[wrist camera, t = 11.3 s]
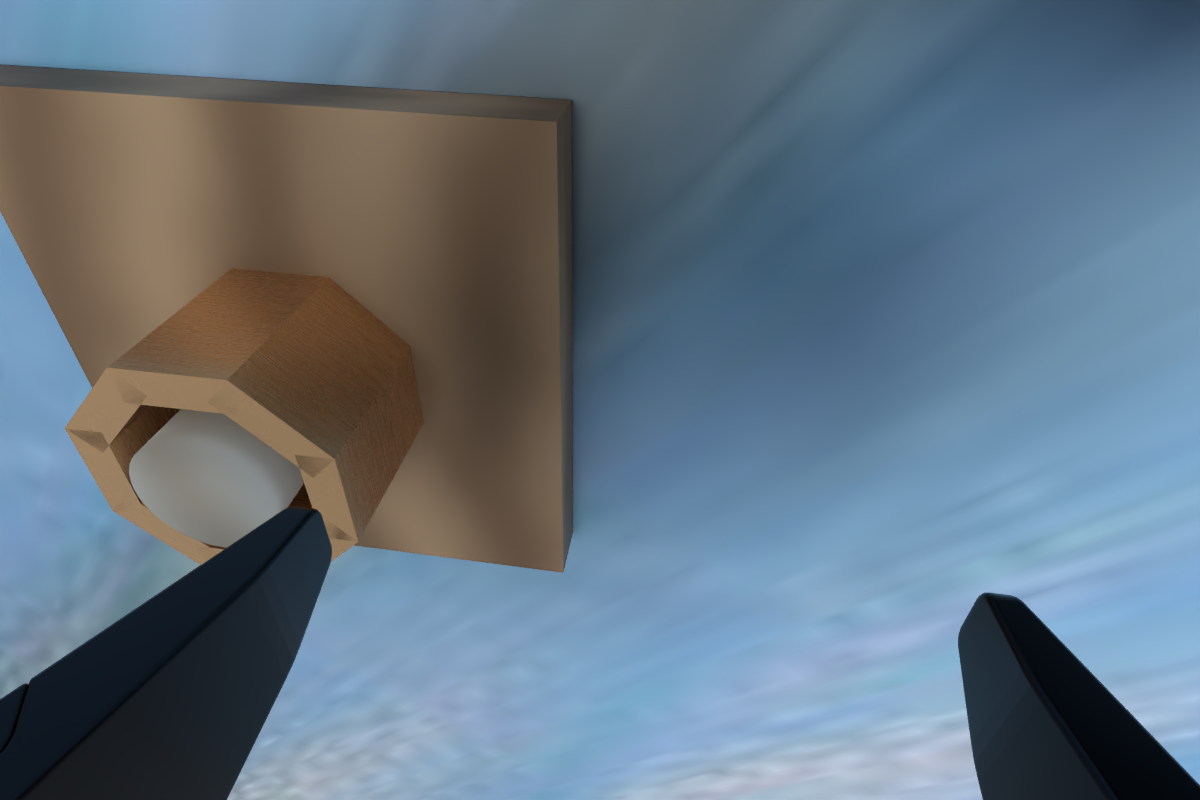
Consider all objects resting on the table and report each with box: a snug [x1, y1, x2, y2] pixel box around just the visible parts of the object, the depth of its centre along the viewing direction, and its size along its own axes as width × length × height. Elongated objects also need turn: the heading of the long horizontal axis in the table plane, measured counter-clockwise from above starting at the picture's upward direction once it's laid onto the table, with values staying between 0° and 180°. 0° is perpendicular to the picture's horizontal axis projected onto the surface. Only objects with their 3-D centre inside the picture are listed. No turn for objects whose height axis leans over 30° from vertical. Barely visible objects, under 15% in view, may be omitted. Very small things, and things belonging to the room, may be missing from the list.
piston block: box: [0, 65, 573, 572], centre depth 20 cm, size 16×16×8 cm
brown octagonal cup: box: [65, 269, 424, 565], centre depth 20 cm, size 7×7×5 cm
